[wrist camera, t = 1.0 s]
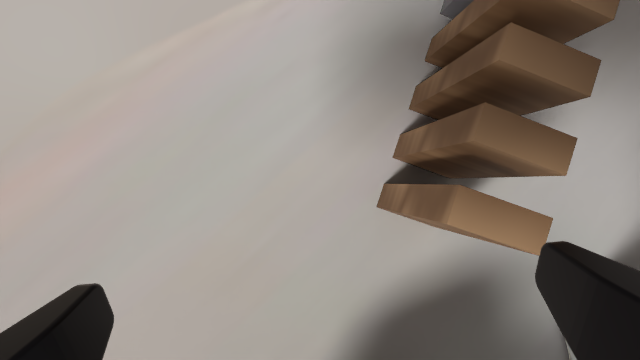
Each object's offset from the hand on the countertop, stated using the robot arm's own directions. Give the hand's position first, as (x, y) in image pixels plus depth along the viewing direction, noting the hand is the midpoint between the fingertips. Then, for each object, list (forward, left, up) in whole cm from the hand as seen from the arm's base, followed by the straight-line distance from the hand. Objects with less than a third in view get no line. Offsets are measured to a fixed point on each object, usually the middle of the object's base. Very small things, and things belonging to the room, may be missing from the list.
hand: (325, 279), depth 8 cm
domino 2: (-3, -9, -16) cm, 19 cm away
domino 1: (-5, -6, -16) cm, 18 cm away
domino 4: (+1, -15, -16) cm, 22 cm away
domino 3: (-1, -12, -16) cm, 20 cm away
